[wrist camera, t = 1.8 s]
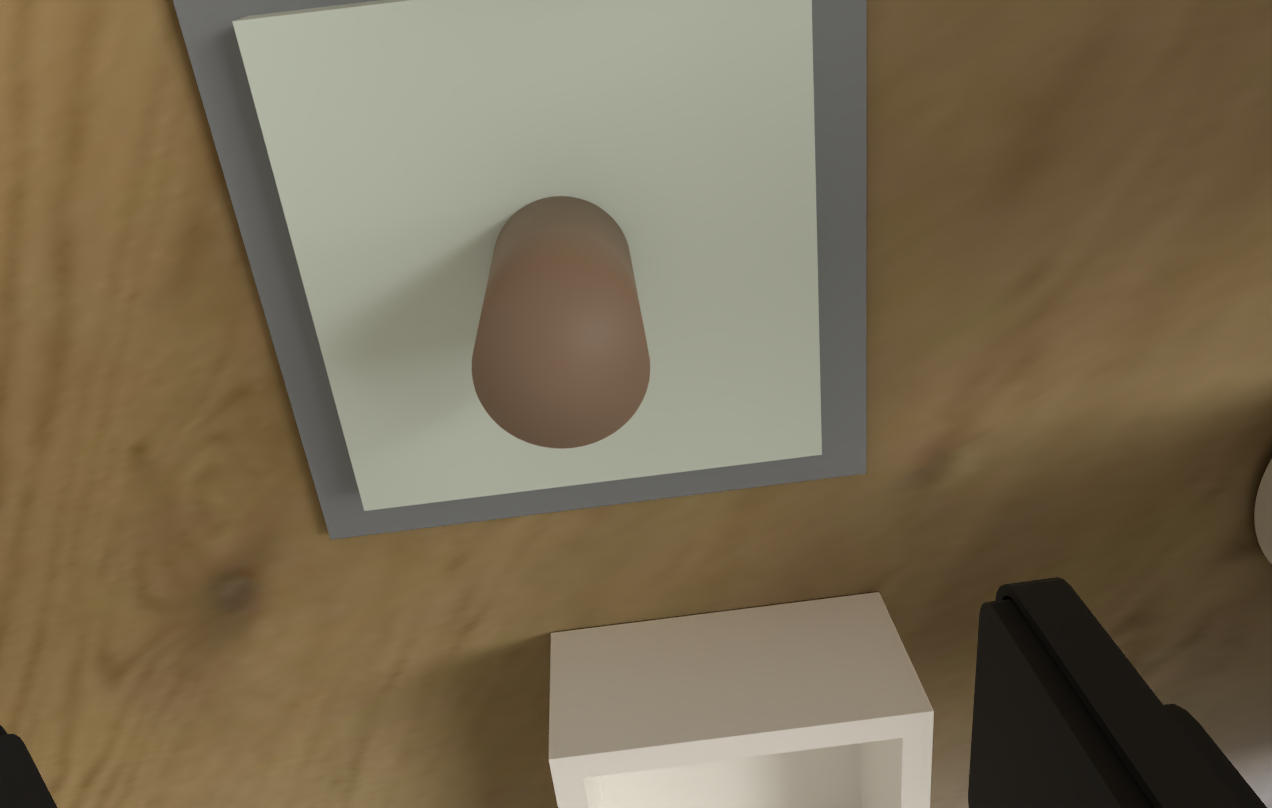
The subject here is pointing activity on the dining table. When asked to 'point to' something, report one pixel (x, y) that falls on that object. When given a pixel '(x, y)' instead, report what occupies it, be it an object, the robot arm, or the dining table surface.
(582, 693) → the white open storage bin
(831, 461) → the mat
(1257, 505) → the travel mug
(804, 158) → the lid
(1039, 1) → the dining table surface
